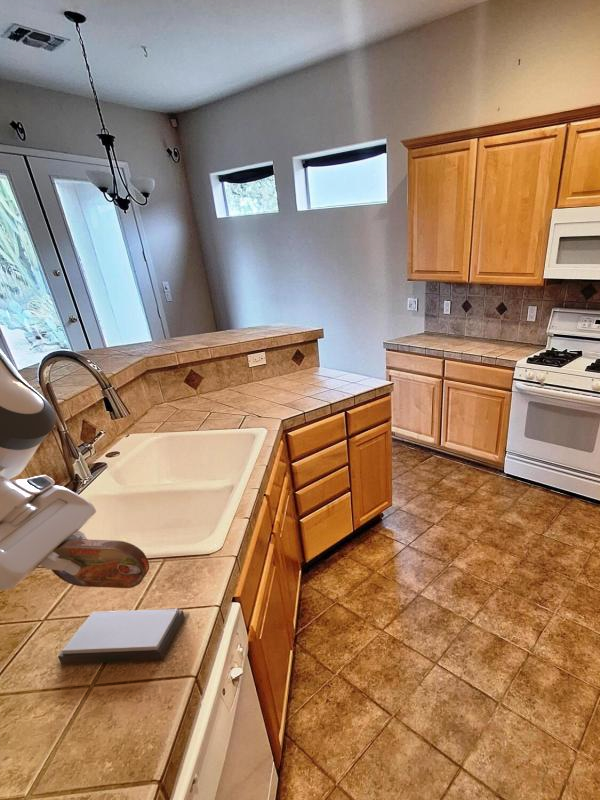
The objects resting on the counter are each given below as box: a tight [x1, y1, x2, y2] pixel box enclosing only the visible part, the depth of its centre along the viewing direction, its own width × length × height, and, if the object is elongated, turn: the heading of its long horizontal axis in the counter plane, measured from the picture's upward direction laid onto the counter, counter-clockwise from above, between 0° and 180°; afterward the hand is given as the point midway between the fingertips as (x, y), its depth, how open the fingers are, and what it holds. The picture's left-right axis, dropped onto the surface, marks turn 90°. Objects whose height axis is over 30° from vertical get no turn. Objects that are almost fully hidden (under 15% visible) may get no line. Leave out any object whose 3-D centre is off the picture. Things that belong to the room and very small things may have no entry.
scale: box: [57, 608, 186, 666], centre depth 75 cm, size 16×10×3 cm, turn 94°
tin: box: [51, 538, 150, 589], centre depth 70 cm, size 15×3×8 cm, turn 89°
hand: (87, 562), depth 70 cm, fingers closed on tin, 3 cm apart
